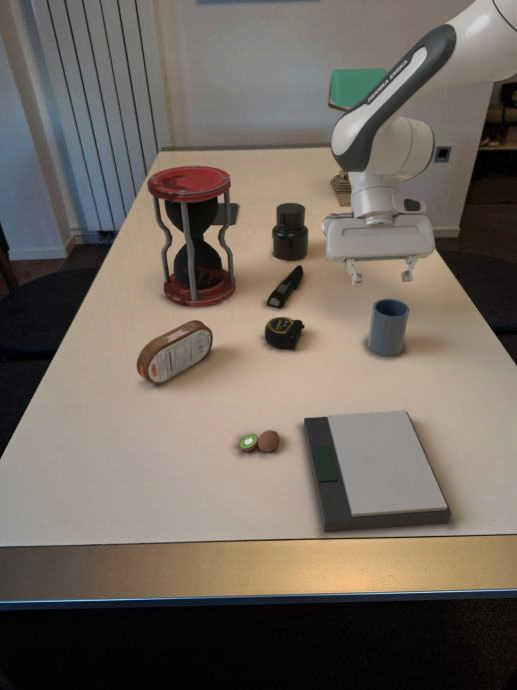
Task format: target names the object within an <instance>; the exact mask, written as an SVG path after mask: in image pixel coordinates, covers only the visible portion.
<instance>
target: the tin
mask: <svg viewBox="0 0 517 690" xmlns="http://www.w3.org/2000/svg"><path fill="white" fill-rule="evenodd" d="M213 343H214V334H213V331H212V329H211V328H210V327H208V326H207V325H206V324H205V323H204V322H203V321H201V320H198V319H194V320H189V321H187V322H184V323H182V324H181V325H179V326H177V327H175V328H173V329H171V330H169V331H167V332H165V333H163V334H161V335H159V336H157V337H154V338H153V339H151V340H150V341H149V342H147V344H145V345H144V347H143V348H142V349H141V351H140V352H139V354H138V357H137V359H136V371H137V373H138V375H139V376H140V377H141V378H144V379H145V380H146V381H147V382H149V383H150V384H153V385H161V384H164V383H165V382H168V381H169V380H171V379H173V378H174V377H176V376H178V375H179V374H181V373H184V372H185V371H187V370H188V369H190V368H191V367H194V365H197V364H198V363H200V362H201V361H203V360H205V359H206V357H207V356H208V355H209V353H210V352H211V350H212V348H213Z"/></svg>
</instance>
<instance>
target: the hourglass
mask: <svg viewBox="0 0 517 690" xmlns="http://www.w3.org/2000/svg"><path fill="white" fill-rule="evenodd" d="M231 183H232V181H231V175H230V174H229V173H228V172H227V171H226V170H223V169H221V168H219V167H213V166H208V165H207V166H206V165H196V164H195V165H182V166H176V167H170V168H167V169H163V170H160V171H158V172H155V173H154V174H152V175H151V176H149V177H148V178H147V182H146V184H147V190H148V192H149V193H150V195H151V196H152V203H153V209H154V217H155V221H156V224H157V225H158V227H159V228H160V230H162V231H163V233H164V235H165V244H164V245H163V247H162V248H161V252H160V256H161V262H162V268H163V269H162V270H163V274H164V281H163V286H162V287H163V288H162V289H163V293H164V295H165V297H166V298H167V300H169V301H171V302H172V303H174V304H176V305H179V306H182V307H188V308H189V307H191V308H200V307H201V308H202V307H209V306H213V305H217V304H220V303H222V302H223V301H227V299H229V298H230V297H231V296H232V295H233V294H234V293H235V290H236V288H237V283H236V282H237V281H236V276H235V272H234V270H235V269H234V254H233V252H232V249H231V248H230V247H229V246H228V245H227V242H226V239H225V236H226V231H227V230H228V229H229V227H230V226H231V225H230V223H231V212H230V203H231V198H230V197H231V196H230V188H231V187H232V184H231ZM222 195H223V203H224V207H225V222H224V225H222V227H221V228H220V229H219V230H218V235H217V240H218V243H219V246H220V247H221V248H222V249H223V250H224V251H225V253H226V257H227V268H228V269H227V270H226V269H225V268H223V261H222V257H221V255H220V254H219V253H218V251H217V249H215V247H213V246H212V245H211V244H210V243H208V242H207V241H206V240H205V235H204V234H205V233H206V232H207V231H208V230H209V229H210V227H211V226H213V225H212V223H213V222H214V220H215V219H216V216H217V214H218V203H219V198H218V197H220V196H222ZM159 200H163V201H164V210H165V214H166V217H167V218H168V220H169V221H170V222H171V224H172V225H173V226H174V227H175V228H176V229H177V230H179V232H181V233H182V234H183V235H184V241H185V243H184V244H183V245H182V246H181V247H180V249H179V250H178V252H177V253H176V254H175V257H174V259H173V273H171V274H170V269H169V263H168V262H169V261H168V255H167V254H168V250H169V249H170V247H171V246H173V245H172V244H173V238H174V237H173V235H172V233H171V229H170V228H169V227H168V226H166V224H165V223H164V221H163V219H162V212H161V206H160V201H159Z"/></svg>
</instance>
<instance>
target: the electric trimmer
mask: <svg viewBox="0 0 517 690" xmlns="http://www.w3.org/2000/svg"><path fill="white" fill-rule="evenodd" d="M304 273H305V272H304V267H303V265H301V264H298V265H297V266H296V267H294V269H293V270H292V271H291V272H290V273H289V274H288V275H287V276H286V277H285V278H284V279H283V280H282V281H281V282H280V283H279V284H278V285H277V286H276V287H275V288H274V290H273V291H272V292H271V293H270V295H269V296H268V298H267V302H266V306H267V307H271V308H275V309H281V308H283V307H284V306H285V303H286V299H287V298H288V296H289V295H290V293H291V292H292V291H295V290H296V289H297V288H298V286H299V285H300V283H301V280H302V278H303V277H304Z"/></svg>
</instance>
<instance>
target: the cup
mask: <svg viewBox="0 0 517 690" xmlns="http://www.w3.org/2000/svg"><path fill="white" fill-rule="evenodd" d="M409 314H410V307H409V306H408V305H407V304H406V303H405V302H404V301H401V300H398V299H393V298H382V299H378V300H377V301H375V302H374V303H373V306H372V311H371V318H370V325H369V332H368V339H367V348H368V350H369V351H370V352H371V353H372V354H374V355H376V356H379V357H384V358H392V357H395V356H397V355H399V354H400V353H401V352H402V349H403V344H404V339H405V334H406V329H407V325H408V320H409V316H410V315H409Z"/></svg>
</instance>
